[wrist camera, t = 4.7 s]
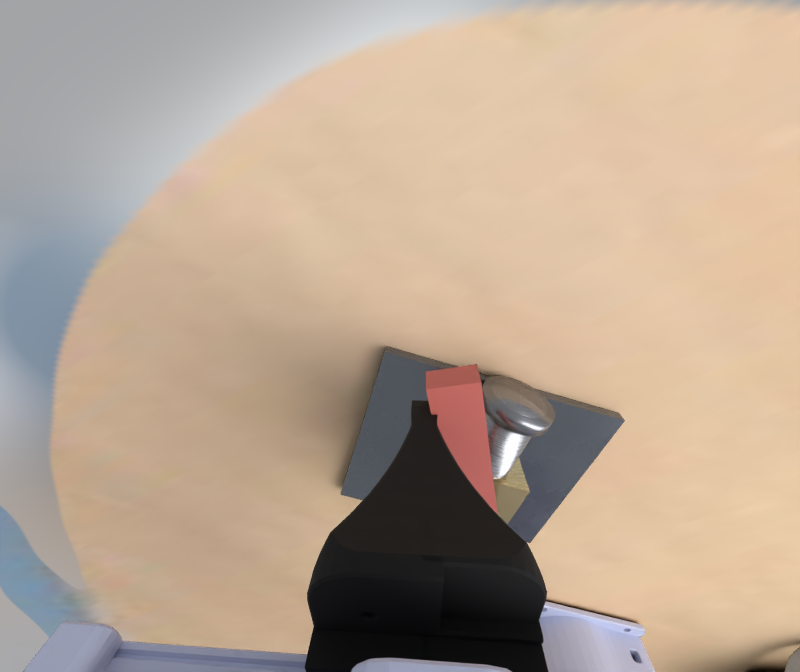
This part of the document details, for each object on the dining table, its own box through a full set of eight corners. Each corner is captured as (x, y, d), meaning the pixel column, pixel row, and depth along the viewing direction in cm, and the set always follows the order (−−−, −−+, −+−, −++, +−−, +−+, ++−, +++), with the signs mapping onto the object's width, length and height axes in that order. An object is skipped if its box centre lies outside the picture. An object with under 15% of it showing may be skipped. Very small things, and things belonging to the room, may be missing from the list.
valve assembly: (388, 337, 17) (377, 390, 13) (624, 406, 18) (681, 474, 14) (341, 491, 22) (322, 562, 18) (524, 538, 23) (544, 616, 19)
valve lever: (510, 547, 16) (516, 574, 15) (452, 550, 17) (454, 577, 16) (491, 361, 12) (497, 381, 11) (412, 372, 12) (411, 392, 11)
